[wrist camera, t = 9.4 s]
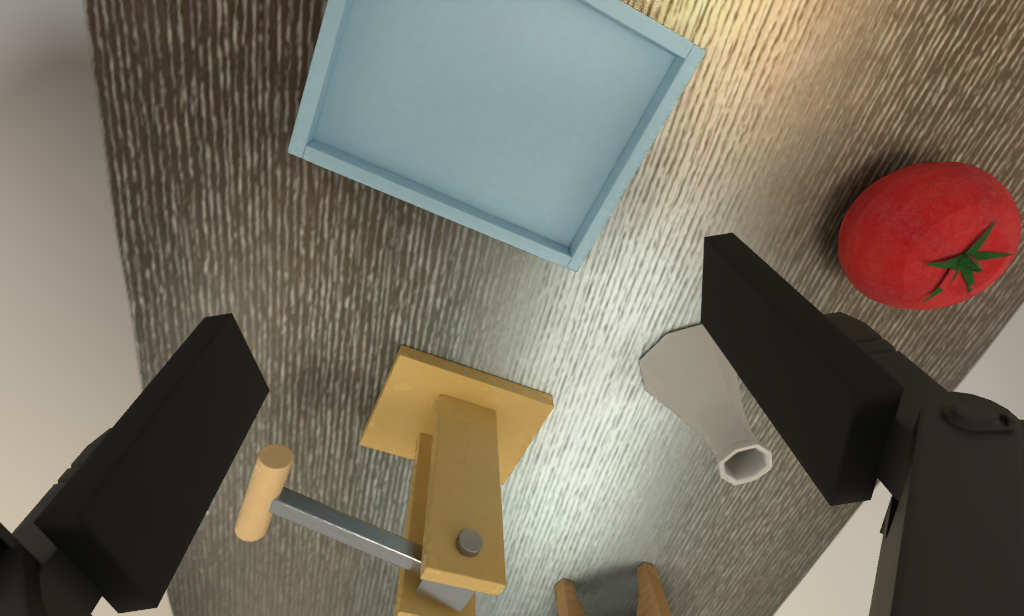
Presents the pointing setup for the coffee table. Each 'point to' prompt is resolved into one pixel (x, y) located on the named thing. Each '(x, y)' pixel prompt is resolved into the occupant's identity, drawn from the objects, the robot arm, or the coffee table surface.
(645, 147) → the butter dish
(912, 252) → the tomato
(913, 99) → the coffee table surface
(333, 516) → the arm
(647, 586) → the planter
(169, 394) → the robot arm
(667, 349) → the flask
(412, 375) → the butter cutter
